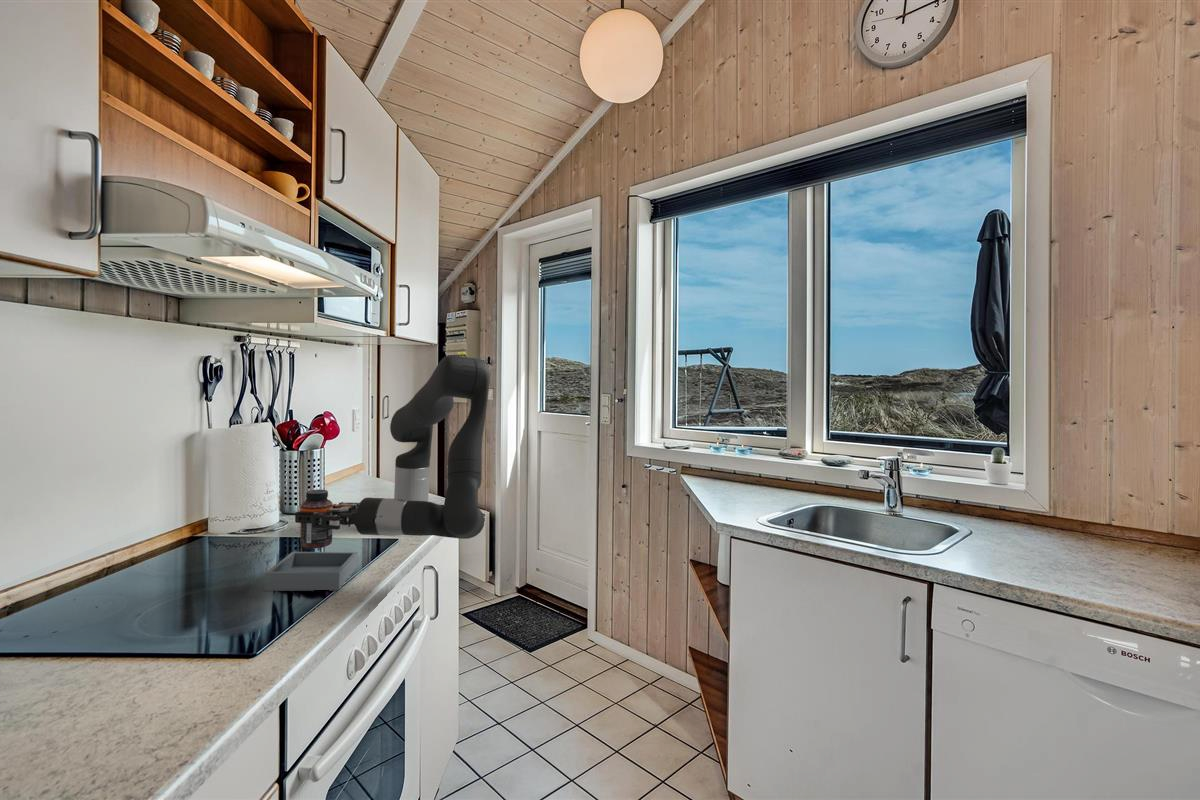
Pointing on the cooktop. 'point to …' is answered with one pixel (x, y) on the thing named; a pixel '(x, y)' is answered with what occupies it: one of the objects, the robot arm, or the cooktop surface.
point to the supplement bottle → (320, 535)
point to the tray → (311, 571)
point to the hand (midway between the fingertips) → (305, 513)
